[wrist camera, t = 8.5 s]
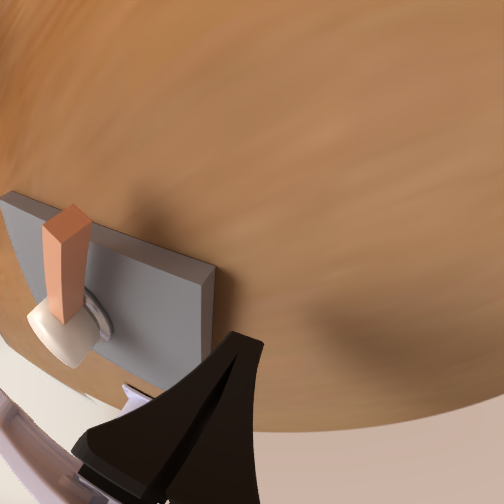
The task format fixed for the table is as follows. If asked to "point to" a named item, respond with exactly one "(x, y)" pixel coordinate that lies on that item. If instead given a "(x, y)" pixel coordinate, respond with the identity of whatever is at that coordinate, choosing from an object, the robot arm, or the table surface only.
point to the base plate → (128, 294)
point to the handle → (65, 289)
